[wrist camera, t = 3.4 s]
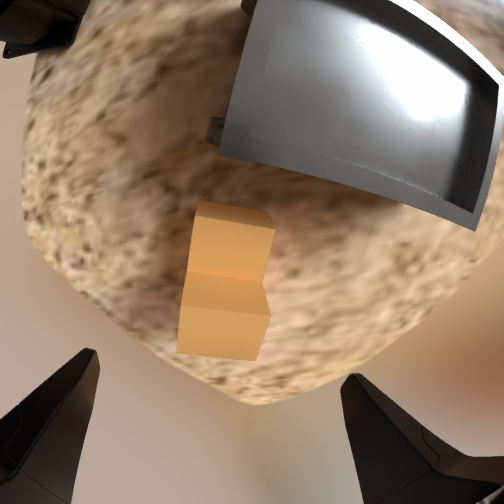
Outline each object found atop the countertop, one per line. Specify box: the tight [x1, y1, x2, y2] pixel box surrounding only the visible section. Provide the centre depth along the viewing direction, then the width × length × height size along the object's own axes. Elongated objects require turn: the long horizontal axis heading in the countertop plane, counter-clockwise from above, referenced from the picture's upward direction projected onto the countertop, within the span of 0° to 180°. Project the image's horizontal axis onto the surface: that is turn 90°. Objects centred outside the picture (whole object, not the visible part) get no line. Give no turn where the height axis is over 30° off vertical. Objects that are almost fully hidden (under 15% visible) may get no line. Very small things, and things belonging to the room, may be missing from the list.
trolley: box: [205, 0, 504, 231], centre depth 11 cm, size 14×9×7 cm, turn 77°
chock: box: [176, 200, 276, 361], centre depth 15 cm, size 6×4×6 cm, turn 167°
